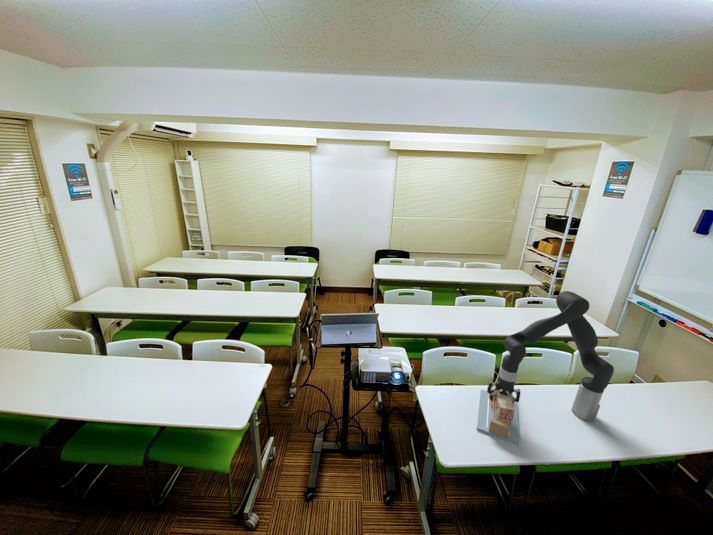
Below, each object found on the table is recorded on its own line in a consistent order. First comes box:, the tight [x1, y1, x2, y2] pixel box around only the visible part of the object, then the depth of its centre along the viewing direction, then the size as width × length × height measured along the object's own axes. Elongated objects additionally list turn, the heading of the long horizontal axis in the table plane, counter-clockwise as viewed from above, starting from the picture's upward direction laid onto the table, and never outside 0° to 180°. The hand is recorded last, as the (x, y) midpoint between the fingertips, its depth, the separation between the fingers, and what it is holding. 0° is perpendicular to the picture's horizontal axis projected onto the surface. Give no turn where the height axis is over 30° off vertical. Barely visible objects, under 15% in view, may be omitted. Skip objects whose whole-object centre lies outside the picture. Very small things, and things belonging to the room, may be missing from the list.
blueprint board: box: [476, 389, 521, 447], centre depth 146 cm, size 18×30×7 cm, turn 154°
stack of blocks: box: [489, 386, 515, 427], centre depth 145 cm, size 21×6×12 cm, turn 166°
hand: (500, 403), depth 145 cm, fingers open, 8 cm apart
